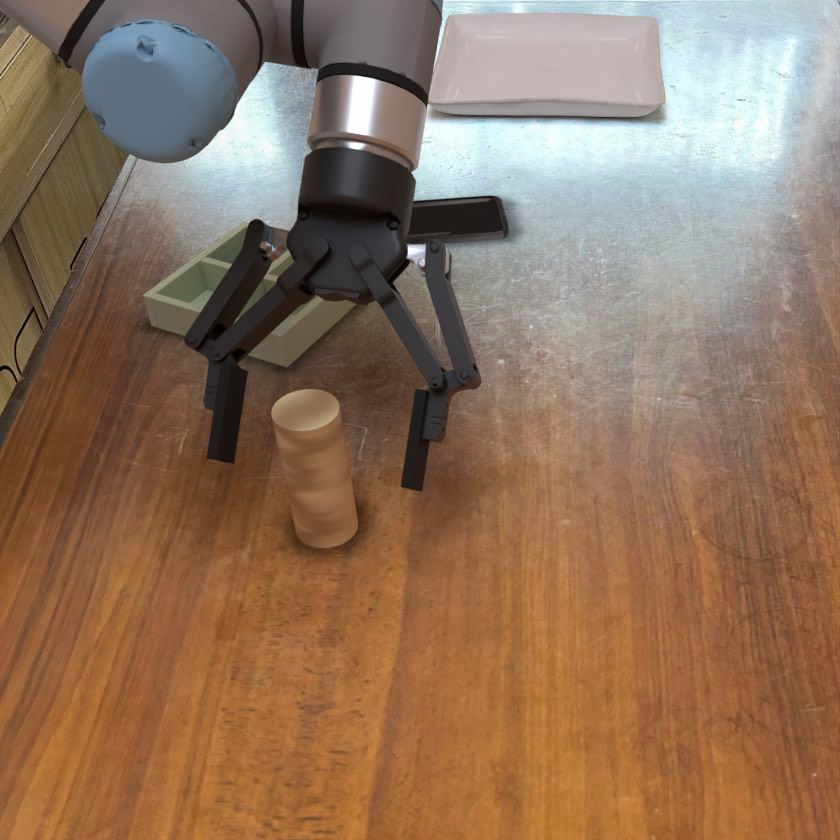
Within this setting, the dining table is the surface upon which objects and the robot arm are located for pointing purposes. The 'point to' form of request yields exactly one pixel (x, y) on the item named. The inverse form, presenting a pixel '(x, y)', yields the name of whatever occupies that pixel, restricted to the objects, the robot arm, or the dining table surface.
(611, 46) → the square plate
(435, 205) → the phone
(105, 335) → the dining table surface
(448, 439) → the dining table surface
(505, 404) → the dining table surface
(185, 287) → the grid
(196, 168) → the dining table surface
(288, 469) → the tan wooden cylinder
